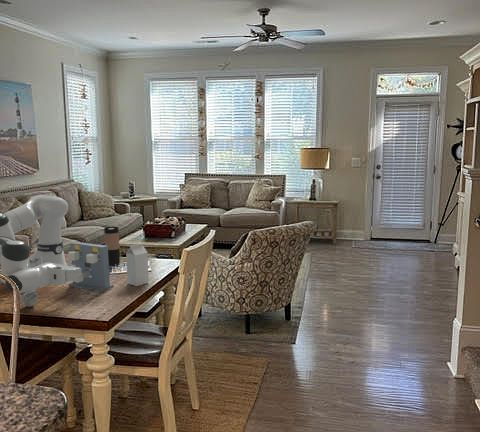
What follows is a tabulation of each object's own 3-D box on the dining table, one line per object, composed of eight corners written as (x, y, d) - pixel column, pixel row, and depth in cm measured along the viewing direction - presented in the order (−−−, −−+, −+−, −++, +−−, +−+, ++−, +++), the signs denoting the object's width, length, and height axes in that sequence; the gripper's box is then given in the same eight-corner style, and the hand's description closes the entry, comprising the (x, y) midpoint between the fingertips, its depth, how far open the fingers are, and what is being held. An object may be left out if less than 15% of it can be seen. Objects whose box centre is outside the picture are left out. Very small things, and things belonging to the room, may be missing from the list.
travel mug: (103, 263, 260) (101, 227, 256) (116, 261, 265) (114, 226, 261) (109, 266, 254) (107, 229, 251) (122, 263, 259) (121, 228, 256)
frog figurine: (32, 309, 191) (31, 293, 190) (18, 308, 193) (16, 291, 192) (42, 304, 197) (41, 288, 195) (28, 303, 199) (27, 287, 197)
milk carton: (148, 283, 225) (147, 244, 222) (136, 286, 220) (134, 246, 216) (139, 280, 229) (138, 242, 226) (127, 283, 224) (125, 244, 221)
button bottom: (72, 281, 212) (71, 273, 212) (88, 275, 221) (88, 268, 221) (78, 282, 211) (77, 274, 210) (94, 276, 220) (94, 269, 219)
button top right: (86, 262, 212) (86, 254, 211) (102, 257, 221) (102, 249, 220) (92, 263, 210) (92, 255, 210) (108, 258, 219) (108, 250, 218)
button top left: (68, 259, 217) (68, 252, 216) (84, 254, 226) (84, 247, 225) (74, 260, 215) (74, 253, 215) (90, 255, 224) (90, 248, 223)
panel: (69, 285, 222) (66, 244, 218) (81, 281, 229) (79, 240, 225) (101, 291, 213) (99, 248, 209) (113, 286, 220) (111, 244, 216)
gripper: (29, 278, 195) (56, 270, 207) (65, 285, 185) (91, 276, 198) (28, 263, 194) (55, 256, 206) (64, 269, 184) (90, 262, 197)
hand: (73, 266), depth 202 cm, fingers closed
